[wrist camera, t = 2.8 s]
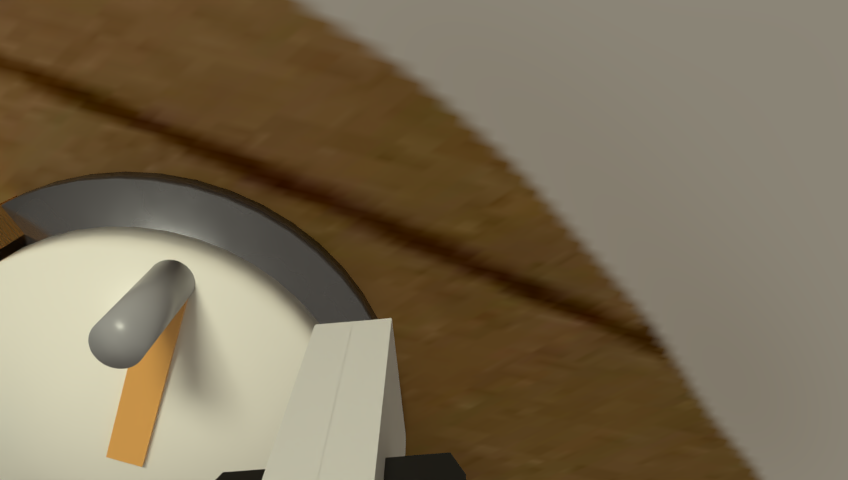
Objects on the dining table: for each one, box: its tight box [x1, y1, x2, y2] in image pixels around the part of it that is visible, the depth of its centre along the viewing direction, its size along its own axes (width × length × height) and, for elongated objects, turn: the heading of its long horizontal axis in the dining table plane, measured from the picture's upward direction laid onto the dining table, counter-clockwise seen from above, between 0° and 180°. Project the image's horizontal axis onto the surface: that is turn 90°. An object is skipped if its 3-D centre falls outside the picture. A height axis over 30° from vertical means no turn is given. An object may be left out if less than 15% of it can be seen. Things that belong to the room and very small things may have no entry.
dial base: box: [0, 172, 378, 324], centre depth 25 cm, size 18×18×2 cm
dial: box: [0, 227, 319, 480], centre depth 22 cm, size 15×15×6 cm
